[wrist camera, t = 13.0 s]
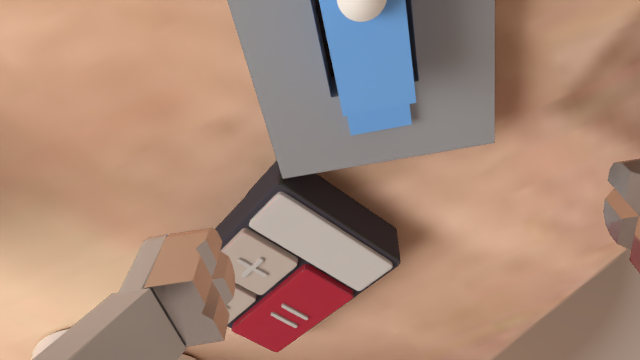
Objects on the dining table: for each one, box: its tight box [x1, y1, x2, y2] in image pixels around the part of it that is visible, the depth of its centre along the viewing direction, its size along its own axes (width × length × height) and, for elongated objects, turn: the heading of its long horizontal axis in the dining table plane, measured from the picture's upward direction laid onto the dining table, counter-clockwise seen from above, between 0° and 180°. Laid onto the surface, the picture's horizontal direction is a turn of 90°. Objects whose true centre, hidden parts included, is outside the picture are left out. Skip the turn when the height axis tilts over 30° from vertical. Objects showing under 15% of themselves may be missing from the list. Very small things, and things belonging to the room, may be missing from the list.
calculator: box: [215, 161, 400, 352], centre depth 36 cm, size 11×4×15 cm
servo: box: [319, 0, 416, 135], centre depth 23 cm, size 13×4×8 cm, turn 12°
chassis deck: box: [227, 0, 495, 179], centre depth 25 cm, size 18×13×3 cm
